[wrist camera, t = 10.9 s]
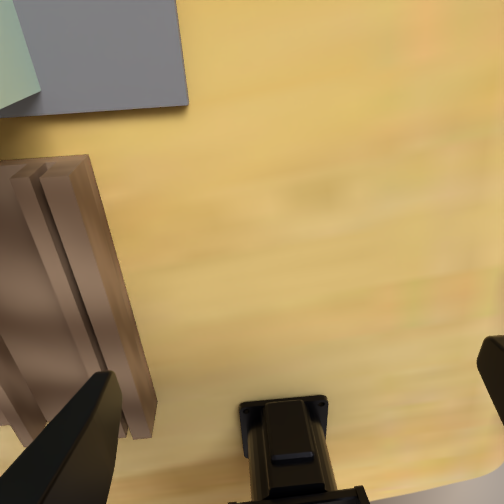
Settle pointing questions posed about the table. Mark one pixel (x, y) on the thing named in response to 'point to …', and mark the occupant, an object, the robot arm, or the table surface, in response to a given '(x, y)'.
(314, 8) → the table surface
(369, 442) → the table surface
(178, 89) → the rubber mat
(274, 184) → the table surface
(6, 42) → the tall board
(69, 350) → the board rack
